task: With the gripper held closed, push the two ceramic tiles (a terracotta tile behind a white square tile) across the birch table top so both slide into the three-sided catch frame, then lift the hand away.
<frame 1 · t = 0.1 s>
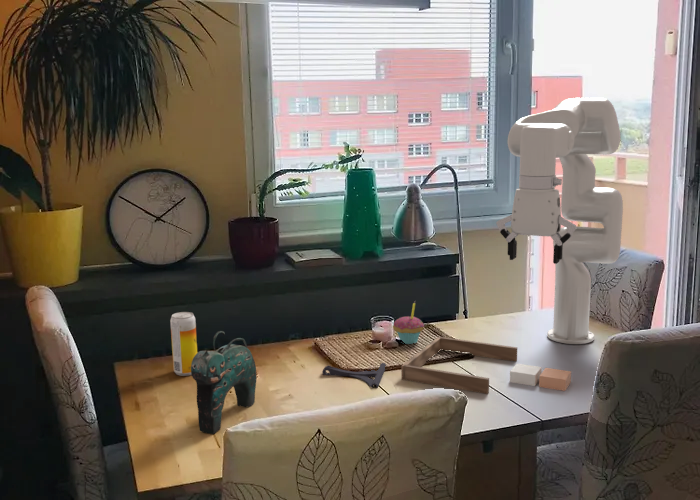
hand: (534, 260, 166), 31 cm above the table, tool pointing down, fingers open, 9 cm apart
cupcake: (408, 342, 211), on the table
white square tile: (525, 381, 181), on the table
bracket: (352, 378, 186), on the table
terracotta tile: (555, 385, 178), on the table
catch frame: (462, 369, 188), on the table
ceramic cat: (226, 418, 162), on the table
beer can: (186, 373, 190), on the table
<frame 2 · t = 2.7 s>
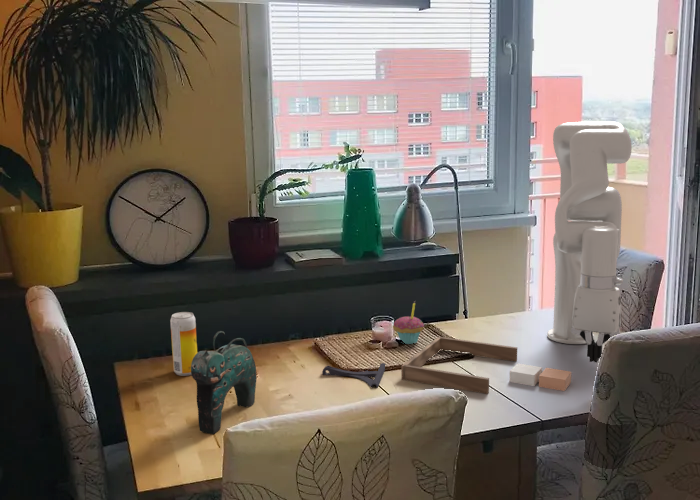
hand: (594, 360, 172), 7 cm above the table, tool pointing down, fingers closed
nothing on the table moved.
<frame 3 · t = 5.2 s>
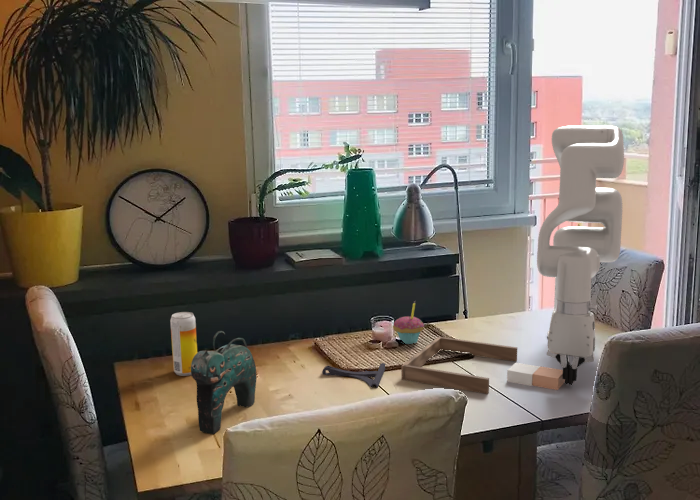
hand: (569, 382, 176), 1 cm above the table, tool pointing down, fingers closed
terracotta tile: (548, 384, 178), on the table, touching gripper
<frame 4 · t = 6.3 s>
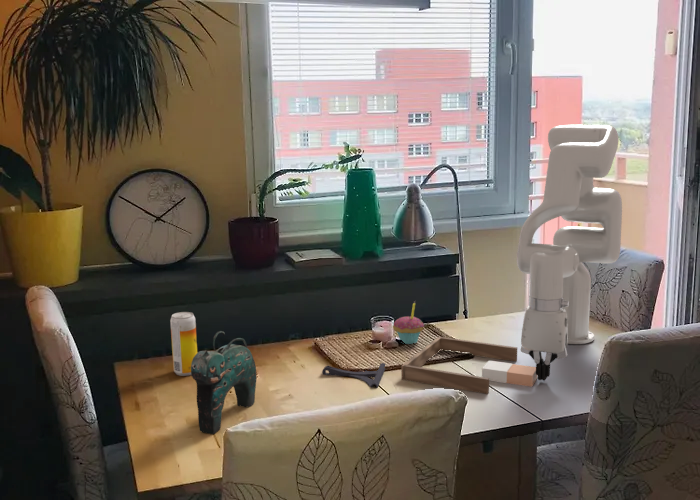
hand: (542, 378, 179), 1 cm above the table, tool pointing down, fingers closed
white square tile: (497, 377, 183), on the table
terracotta tile: (522, 381, 181), on the table, touching gripper
everything else where it was.
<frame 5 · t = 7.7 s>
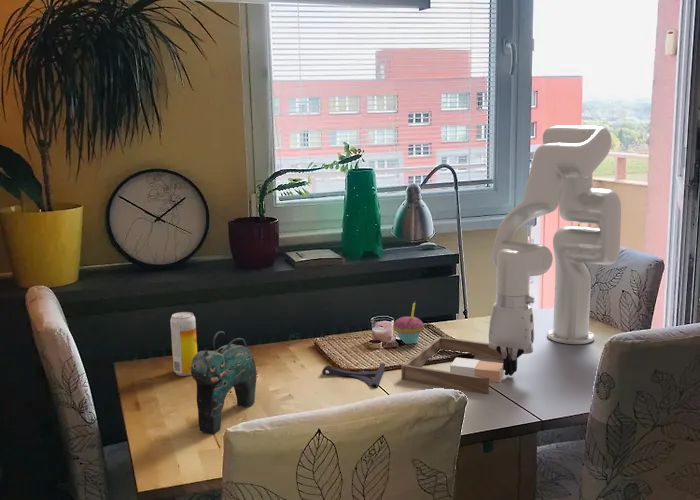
hand: (509, 373, 182), 1 cm above the table, tool pointing down, fingers closed
white square tile: (464, 374, 186), on the table
terracotta tile: (489, 377, 183), on the table
everything else where it was.
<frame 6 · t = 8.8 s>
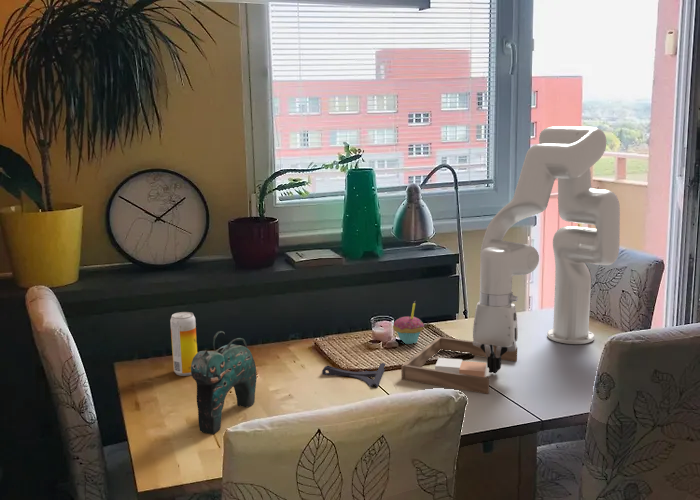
hand: (493, 371, 184), 1 cm above the table, tool pointing down, fingers closed
white square tile: (448, 374, 186), on the table
terracotta tile: (472, 377, 184), on the table, touching gripper
everything else where it was.
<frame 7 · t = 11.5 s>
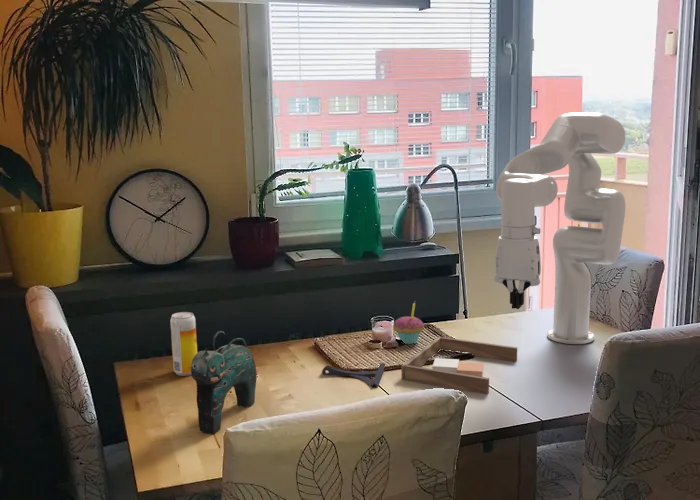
hand: (516, 307, 179), 18 cm above the table, tool pointing down, fingers closed
terracotta tile: (470, 378, 183), on the table
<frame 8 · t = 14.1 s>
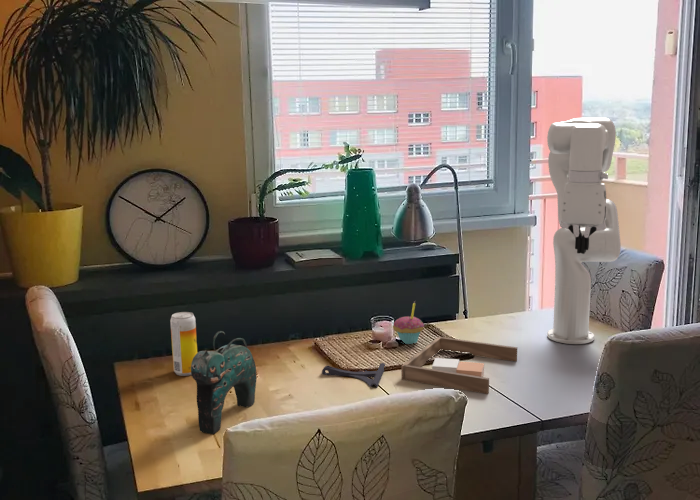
hand: (581, 252, 184), 29 cm above the table, tool pointing down, fingers closed
nothing on the table moved.
at the end: white square tile inside the target area (4.5 cm from its centre), on the table; terracotta tile inside the target area (5.5 cm from its centre), on the table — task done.
